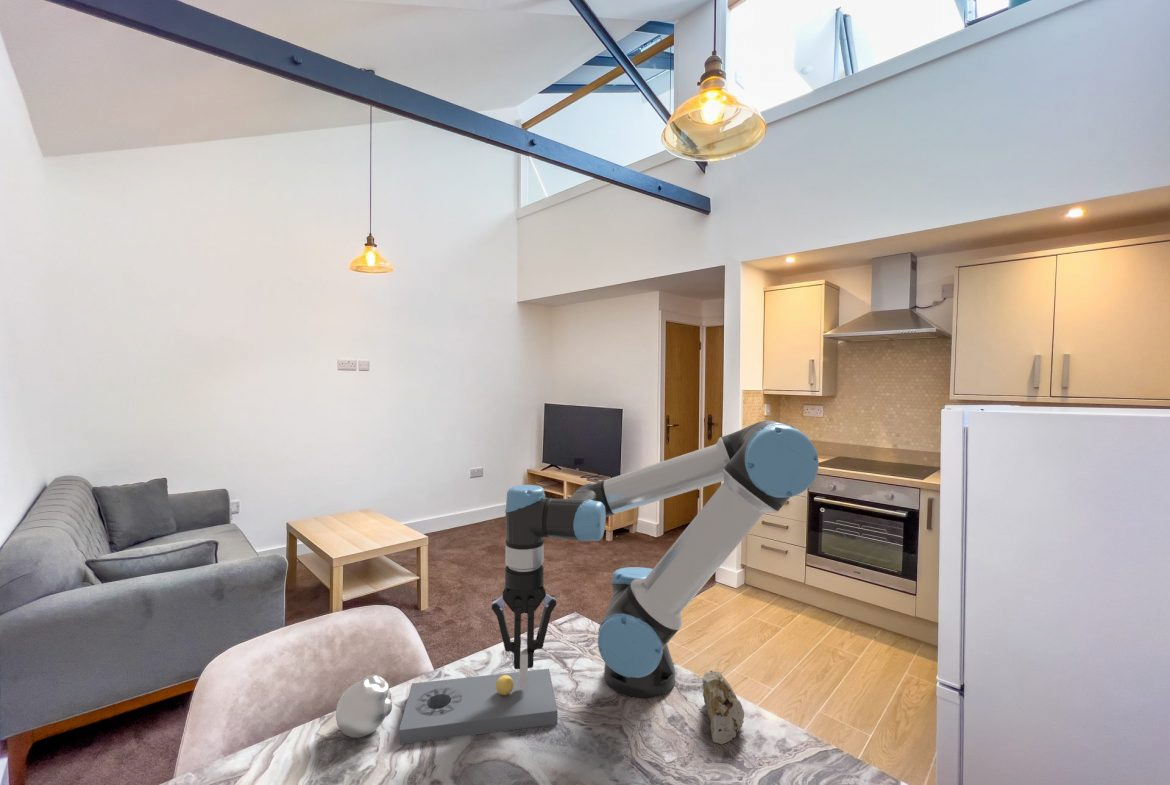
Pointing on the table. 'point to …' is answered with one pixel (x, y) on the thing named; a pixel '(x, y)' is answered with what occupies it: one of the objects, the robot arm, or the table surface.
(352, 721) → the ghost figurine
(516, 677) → the grey flat block
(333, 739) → the table surface
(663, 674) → the robot arm
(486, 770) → the table surface
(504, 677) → the ball
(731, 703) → the rock
